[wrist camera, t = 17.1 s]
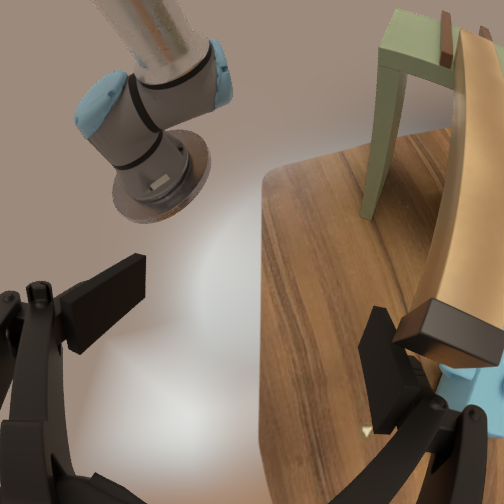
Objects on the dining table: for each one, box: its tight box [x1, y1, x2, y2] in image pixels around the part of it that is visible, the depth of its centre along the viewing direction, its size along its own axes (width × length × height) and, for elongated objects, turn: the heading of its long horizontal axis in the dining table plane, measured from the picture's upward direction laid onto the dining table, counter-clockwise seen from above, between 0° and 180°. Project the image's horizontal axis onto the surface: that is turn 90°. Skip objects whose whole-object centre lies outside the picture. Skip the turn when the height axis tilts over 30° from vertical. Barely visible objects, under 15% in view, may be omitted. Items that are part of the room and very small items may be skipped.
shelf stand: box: [360, 9, 504, 221], centre depth 29 cm, size 16×12×32 cm
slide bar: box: [392, 28, 504, 369], centre depth 11 cm, size 3×23×4 cm, turn 151°
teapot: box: [435, 328, 504, 438], centre depth 25 cm, size 18×16×14 cm
